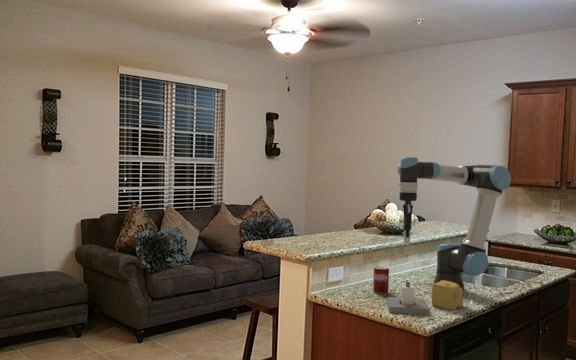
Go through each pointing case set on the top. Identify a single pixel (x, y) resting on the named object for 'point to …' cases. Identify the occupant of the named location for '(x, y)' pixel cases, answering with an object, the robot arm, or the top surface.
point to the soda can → (381, 280)
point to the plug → (407, 294)
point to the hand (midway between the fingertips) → (406, 244)
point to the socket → (407, 306)
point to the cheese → (447, 295)
